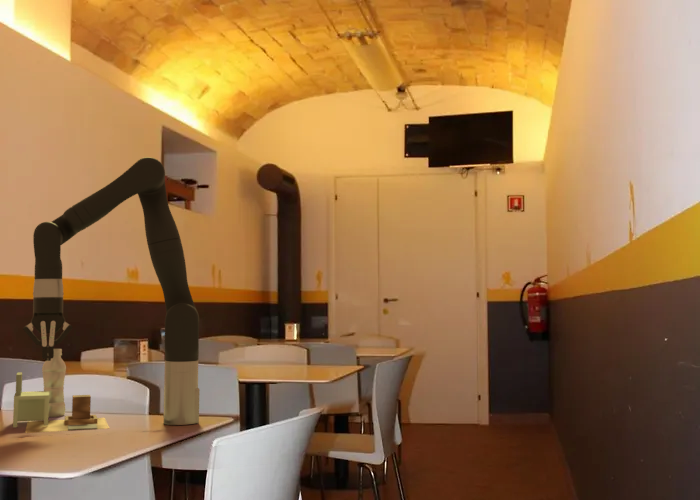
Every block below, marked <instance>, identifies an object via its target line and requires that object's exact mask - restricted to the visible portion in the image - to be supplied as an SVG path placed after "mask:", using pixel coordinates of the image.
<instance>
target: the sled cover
mask: <svg viewBox="0 0 700 500" xmlns="http://www.w3.org/2000/svg"><path fill="white" fill-rule="evenodd" d="M15 375H16V376H15V392H14V393H15V394H14V395H13V411H12V412H13V413H12V415H13V416H12V428H17V427H18V422H28V421H44V426H48V421H49V417H48V413H49V391H44V390H42V391H41V390H39V391H38V390H37V391H23V390H22V389H23V388H22V387H23V372H21V371H20V372H19V371H18V372H17V373H16V374H15Z"/></svg>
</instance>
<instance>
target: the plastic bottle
mask: <svg viewBox="0 0 700 500" xmlns="http://www.w3.org/2000/svg"><path fill="white" fill-rule="evenodd" d="M62 352H63V349H62V348H54V357H53V358H51V361H45V360H44V363H43V364H42V367H41V369H42V378H43V391H49V413H48V418H55V417H56V418H58V417H63V416H65V413H66V404H65V403H66V402H65V394H64V389H65V388H64V385H65V378H66V370H67V366H66V363H65V361H64V360H63V358H62V356H63V353H62Z"/></svg>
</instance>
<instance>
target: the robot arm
mask: <svg viewBox="0 0 700 500" xmlns="http://www.w3.org/2000/svg"><path fill="white" fill-rule="evenodd" d="M136 195H138V199H139V201H140V205H141V207H142V211H143V218H144V230H145V237H146V245H147V247H148V251H149V256H150V259H151V264H152V267H153V269H154V273H155V274H156V277H157V279H158V282H159V284H160V286H161V290H162V292H163V298H164V299H163V300H164V304H165V312H166V315H165V317H164V375H163V376H164V382H163V383H164V385H163V424H164V425H168V426H169V425H171V426H185V425H193V424H199V423H200V391H201V390H200V388H199V354H200V353H199V352H200V351H199V350H200V349H199V342H200V340H199V339H200V334H199V333H200V315H199V312H198V309H197V308H196V305H195V303H194V300H193V297H192V295H191V294H192V293H191V291H190V288H189V287H190V286H189V282H188V274H187V267H186V258H185V253H184V247H183V244H182V240H181V236H180V233H179V232H180V231H179V229H178V226H177V224H176V221H175V218H174V216H173V214H172V213H171V210H170V209H171V208H170V206H169V202H168V196H167V187H166V171H165V167H164V165H163V163H162V162H161V161H160V160H158V159H157V158H154V157H150V156H145V157H141V158H139V159H138V160H137V161H136V162H135V163H133V164H132V165H131V166H130V167H129V168H127V170H126V171H124V172H123V173H122V174H120V176H118V177H117V178H115V179H114V180H113V181H111V182H110V183H108V184H107V185H105V186H104V187H102V188H100V189H99V190H97V191H95V192H94V193H92V194H90V195H88V196H87V197H85V198H84V199H82V200H80V201H79V202H77V203H75V204H73V205H72V206H70V207H68V208H67V209H66V210H64V212H63V213H62V214H61V215H60V216H59V217H56V218H55V219H54V220H52V221H44V222H41V223H39V224H38V225H36V227H35V228H34V230H33V235H32V236H33V237H32V238H33V239H32V240H33V241H32V242H33V253H34V259H35V260H34V281H33V289H32V290H33V292H32V296H33V299H32V300H33V301H32V303H33V304H32V306H33V307H32V318H31V320H30V323H28V324H26V325H25V326H24V327H23V329H22V330H23V331H24V332H25V333H26V335H27V336H28V337H29V338H30V339H31V341H32V342H33V343H34V344H35V345H38V346H40V347H41V349H42V350H41V351H42V353H41V355H42V356H41V357H42V359H44V362H45V361H51V358H53V357H54V349H55V346H57V345H59V344H61V343H62V342H63V340H64V339H65V338H66V336H68V334H69V333H70V332H71V331H72V329H73V328H74V327H73V325H71V324H69V323H68V322H66V318H65V317H64V284H63V283H64V281H63V262H62V259H61V252H62V251H61V247H62V245H64V244H65V243H66V242H68V241H69V240H71V238H73V237H74V236H76V235H77V234H78V233H80V232H82V231H84V230H85V229H88V228H89V227H90V226H92V225H94V224H95V223H97V222H99V221H100V220H101V219H103V218H104V217H106V216H107V215H108V214H109V213H111V212H112V211H113V210H115V209H116V208H117V207H118V206H119V205H121V204H122V203H124V202H126V200H129V199H130V198H132V197H133V196H136ZM34 328H35V330H36V331H37V332H38V333H39V334H41V340H40V339H39V338H38V337H37V336H36V335H35V334H34V332H33V331H34ZM61 328H62V330H63V332H61V334H60V335H59V336H58V337H57V338H56V339H55V335H56V333H57V332H58V331H59V330H60V329H61ZM47 334H49V337H48V338H49V339H48V340H47Z"/></svg>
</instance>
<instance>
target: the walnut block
mask: <svg viewBox="0 0 700 500" xmlns="http://www.w3.org/2000/svg"><path fill="white" fill-rule="evenodd" d="M91 399H92V396H91V394H74V395H72V400H71V401H72V403H71V404H72V406H71V416H72V420H74V419H90V415H91V406H92V405H91V403H92V402H91V401H92V400H91Z"/></svg>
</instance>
